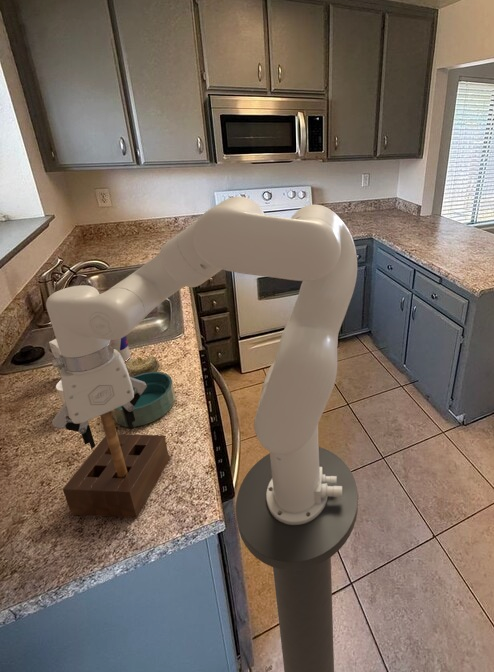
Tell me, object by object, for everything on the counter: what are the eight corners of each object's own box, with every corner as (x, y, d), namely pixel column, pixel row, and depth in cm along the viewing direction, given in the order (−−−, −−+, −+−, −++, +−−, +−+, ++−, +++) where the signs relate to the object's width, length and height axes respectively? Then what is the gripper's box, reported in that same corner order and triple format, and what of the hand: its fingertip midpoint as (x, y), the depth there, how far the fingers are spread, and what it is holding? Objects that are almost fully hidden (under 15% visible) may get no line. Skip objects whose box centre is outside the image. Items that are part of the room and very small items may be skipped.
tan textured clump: (159, 377, 113) (155, 363, 110) (123, 385, 109) (119, 371, 107) (160, 357, 121) (156, 344, 119) (127, 365, 118) (123, 352, 116)
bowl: (184, 389, 106) (181, 372, 104) (158, 429, 92) (154, 410, 90) (135, 388, 107) (131, 371, 105) (101, 427, 93) (96, 409, 91)
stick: (135, 493, 75) (112, 409, 68) (130, 501, 73) (106, 416, 66) (127, 492, 75) (103, 409, 68) (122, 501, 74) (97, 416, 66)
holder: (169, 458, 83) (164, 435, 81) (136, 518, 70) (129, 492, 68) (113, 456, 84) (107, 433, 82) (71, 514, 71) (62, 489, 69)
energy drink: (134, 357, 122) (127, 326, 118) (122, 366, 117) (114, 335, 113) (122, 355, 124) (115, 324, 120) (109, 364, 119) (101, 332, 115)
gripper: (28, 387, 55) (60, 474, 61) (147, 344, 66) (163, 422, 72) (26, 365, 60) (54, 447, 66) (135, 329, 71) (152, 402, 77)
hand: (111, 433), depth 69 cm, fingers open, 5 cm apart
